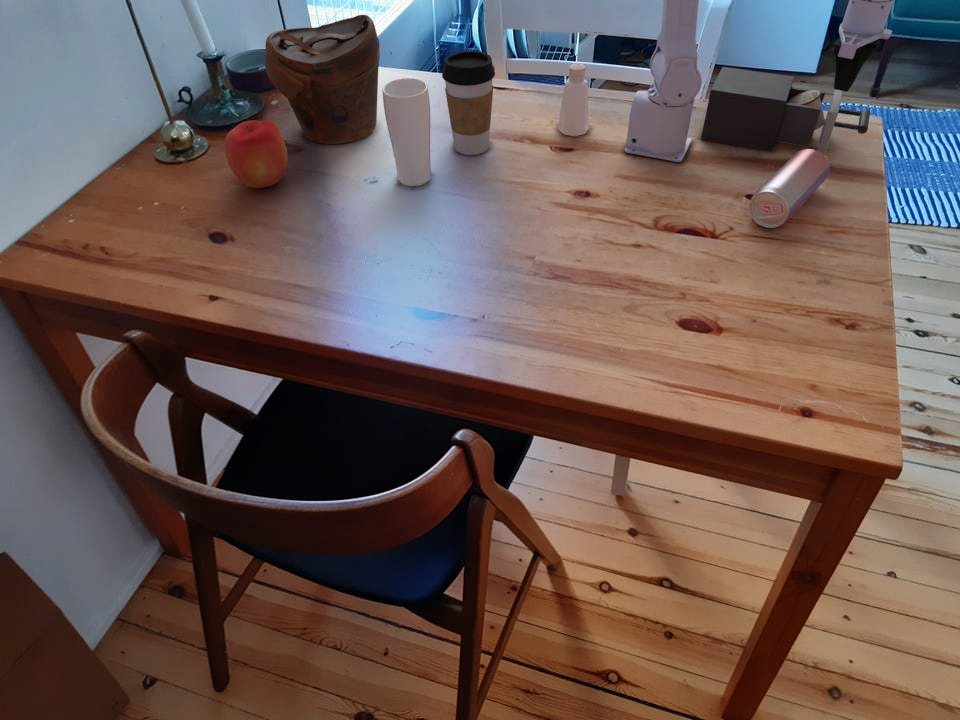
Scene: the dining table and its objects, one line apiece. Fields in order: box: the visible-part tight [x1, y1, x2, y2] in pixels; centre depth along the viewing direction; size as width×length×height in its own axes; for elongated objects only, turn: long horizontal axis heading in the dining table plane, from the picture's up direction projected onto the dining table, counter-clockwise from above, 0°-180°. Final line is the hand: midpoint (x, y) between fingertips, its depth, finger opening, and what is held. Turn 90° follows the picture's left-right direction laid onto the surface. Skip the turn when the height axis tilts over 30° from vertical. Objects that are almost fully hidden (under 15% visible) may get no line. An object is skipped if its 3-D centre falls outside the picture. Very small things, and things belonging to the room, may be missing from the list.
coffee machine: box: [700, 66, 795, 152], centre depth 118 cm, size 12×10×9 cm
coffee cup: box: [441, 50, 496, 156], centre depth 115 cm, size 8×8×15 cm
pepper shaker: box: [557, 62, 590, 137], centre depth 120 cm, size 5×5×11 cm
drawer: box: [775, 86, 871, 154], centre depth 115 cm, size 15×8×7 cm, turn 66°
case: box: [264, 14, 381, 145], centre depth 120 cm, size 18×20×18 cm
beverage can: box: [748, 148, 831, 229], centre depth 103 cm, size 6×6×15 cm
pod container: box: [788, 89, 826, 131], centre depth 115 cm, size 5×5×5 cm
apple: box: [224, 119, 289, 189], centre depth 111 cm, size 10×10×10 cm
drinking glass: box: [381, 77, 432, 187], centre depth 108 cm, size 7×7×15 cm
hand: (841, 88), depth 111 cm, fingers closed
